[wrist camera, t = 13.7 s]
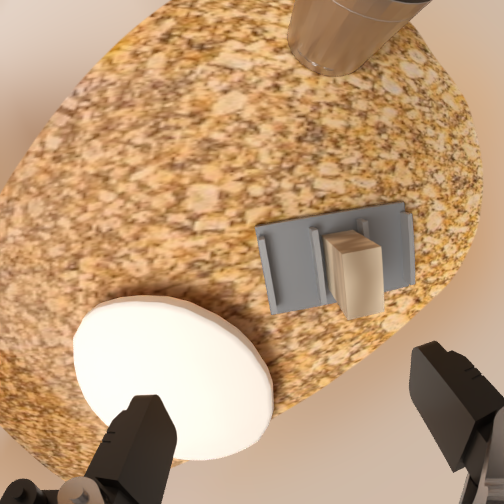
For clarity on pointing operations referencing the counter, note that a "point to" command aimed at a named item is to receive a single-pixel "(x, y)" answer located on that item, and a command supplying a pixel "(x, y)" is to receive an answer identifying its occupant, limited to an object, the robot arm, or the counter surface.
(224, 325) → the plate
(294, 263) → the rack
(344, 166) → the counter surface
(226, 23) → the counter surface
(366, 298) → the block
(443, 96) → the counter surface
